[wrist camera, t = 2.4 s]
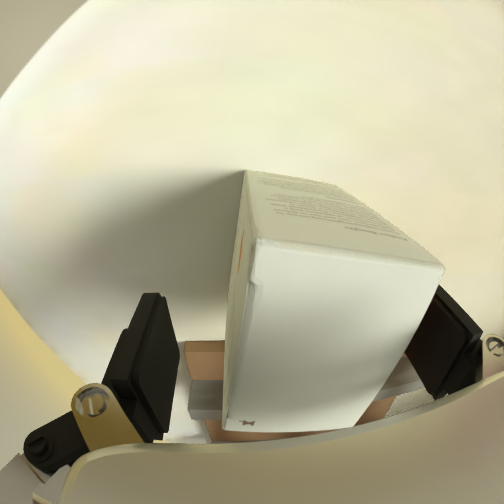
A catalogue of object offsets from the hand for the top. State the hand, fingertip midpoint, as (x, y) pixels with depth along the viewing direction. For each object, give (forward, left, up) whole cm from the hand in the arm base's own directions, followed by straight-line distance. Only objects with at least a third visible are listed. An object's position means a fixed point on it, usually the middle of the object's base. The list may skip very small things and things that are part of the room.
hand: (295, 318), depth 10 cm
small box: (0, 0, -8) cm, 8 cm away
